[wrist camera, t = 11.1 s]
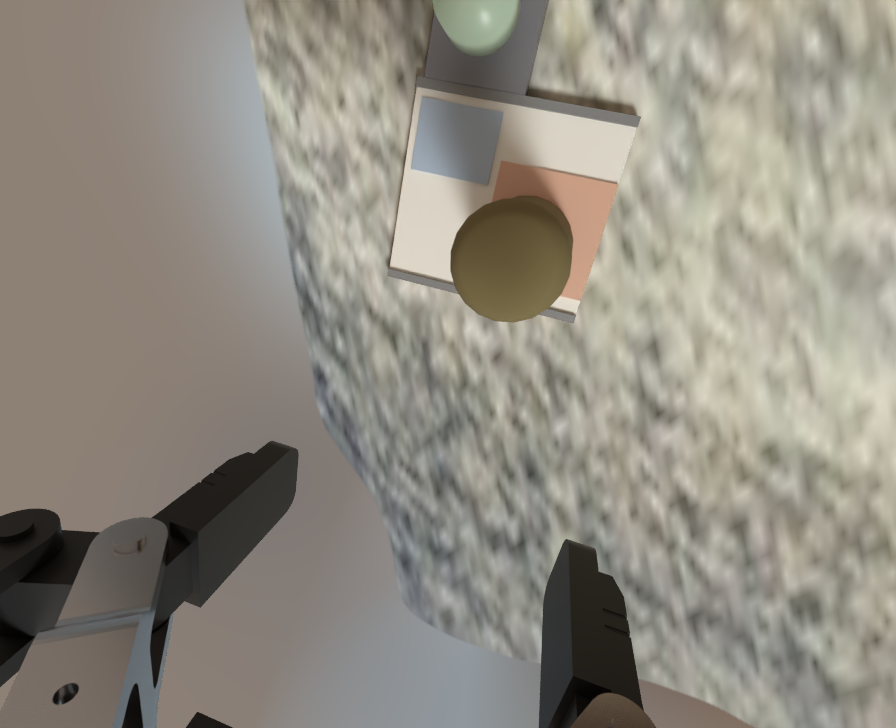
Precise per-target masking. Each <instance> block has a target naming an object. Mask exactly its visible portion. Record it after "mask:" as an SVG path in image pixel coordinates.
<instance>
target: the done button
mask: <svg viewBox="0 0 896 728" xmlns="http://www.w3.org/2000/svg"><path fill="white" fill-rule="evenodd" d="M432 3H433V8H434V11H435V14H436V17H437V19H438V21H439V22H440V24H441V26H442V27H443V29H444V31H445V32H446V34H447V36H448V37H449V39H450V40H451V42H452V43H453V45H454V46H455V47H456V48H457V49H458V50H459V51H461V52H462V53H464V54H466V55H469V56H474V57H482V56H487V55H490V54H492V53H494V52H496V51H497V50H499V49H500V48H501V47H502V46H503V45H504V44H505V43H506V42H507V41H508V40H509V39H510V37H511V35H512V34H513V32H514V30H515V28H516V25H517V23H518V19H519V14H520V0H432Z"/></svg>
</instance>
